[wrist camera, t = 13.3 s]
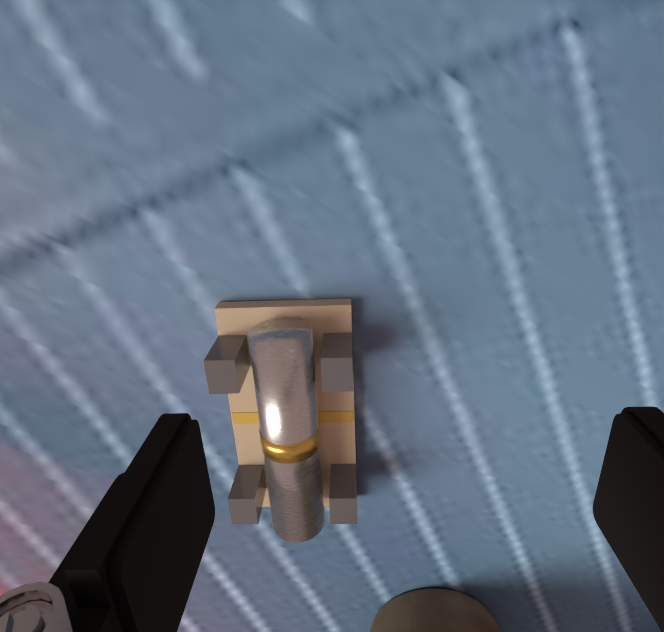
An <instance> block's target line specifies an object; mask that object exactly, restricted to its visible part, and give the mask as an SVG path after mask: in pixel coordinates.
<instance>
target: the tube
mask: <svg viewBox="0 0 664 632" xmlns="http://www.w3.org/2000/svg"><path fill="white" fill-rule="evenodd" d="M248 339H249V347H250V354H251V362H252V370H253V377H254V385H255V393H256V401H257V408H258V416H259V424H260V428H259V433H260V441H261V449H262V452H263V455H264V463H265V470H266V478H267V486H268V494H269V501H270V509H271V517H272V524H273V529H274V531H275V533H276V534H277V535H278V536H279V537H280V538H282V539H283V540H286V541H289V542H303V541H307V540H309V539H311V538H313V537H315V536H316V535H317V534H318V533H319V532H320V531H321V530H322V528H323V526H324V523H325V511H324V496H323V482H322V467H321V452H320V445H321V435H320V422H319V419H318V407H317V392H316V378H315V363H314V348H313V333H312V326H311V325H310V324H309V323H308V322H306V321H304V320H301V319H297V318H275V319H270V320H266V321H263V322H260V323H258V324H256V325H254V326H253V327H252V328H251V329H250V330H249V332H248Z"/></svg>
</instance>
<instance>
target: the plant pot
mask: <svg viewBox="0 0 664 632" xmlns="http://www.w3.org/2000/svg"><path fill="white" fill-rule="evenodd" d="M371 632H501V630H500V628H499V627H498V625H497V623H496V621H495V620H494V618H493V617H492V615H491V614H490V612H489V611H488V610H487V609H486V607H485V606H484V605H482V604H481V603H480V602H478V601H477V600H476V599H474V598H472V597H470V596H468V595H466V594H463V593H461V592H457V591H454V590H448V589H430V588H429V589H421V590H415V591H411V592H407V593H404V594H402V595H399V596H397V597H395V598H393V599H392V600H390V601H389V602H387V603H386V604H385V605H384V606H383V607H382V608H381V609H380V610H379V611H378V613H377V615H376V617H375V619H374V622H373V625H372V628H371Z"/></svg>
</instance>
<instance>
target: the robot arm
mask: <svg viewBox="0 0 664 632" xmlns="http://www.w3.org/2000/svg"><path fill="white" fill-rule="evenodd" d="M593 514H594V518H595V521H596V523H597V525H598V526H599V528H600V530H601V531H602V533H603V534H604V536H605V538H606V539H607V541H608V543H609V544H610V546H611V548H612V549H613V551H614V553H615V554H616V556H617V558H618V559H619V561H620V563H621V564H622V566H623V568H624V569H625V571H626V573H627V574H628V576H629V578H630V579H631V581H632V583H633V584H634V586H635V588H636V589H637V591H638V593H639V594H640V596H641V598H642V599H643V601H644V603H645V604H646V606H647V608H648V609H649V611H650V613H651V614H652V616H653V618H654V619H655V621H656V623H657V624H658V626H659V628H660V629H661V631H662V632H664V413H663V412H662V411H661V410H660V409H658V408H657V407H626V408H624V409H623V410H622V412H621V414H617V415H616V416H615V417H614V420H613V424H612V428H611V432H610V436H609V440H608V445H607V449H606V453H605V457H604V461H603V465H602V470H601V474H600V478H599V482H598V486H597V491H596V495H595V499H594V503H593ZM214 518H215V505H214V500H213V495H212V490H211V485H210V479H209V474H208V469H207V464H206V459H205V453H204V448H203V443H202V438H201V433H200V427H199V423H198V421H197V420H191V417H190V415H189V414H187V413H179V414H162V415H161V416H160V418H159V419H158V421H157V422H156V424H155V426H154V427H153V429H152V430H151V432H150V433H149V435H148V437H147V438H146V440H145V441H144V443H143V444H142V446H141V448H140V449H139V451H138V452H137V454H136V456H135V457H134V459H133V460H132V462H131V463H130V465H129V467H128V468H127V470H126V471H125V473H122V474H120V475H119V476H118V477H117V478H116V479H115V480H114V482H113V484H112V485H111V487H110V488H109V490H108V491H107V493H106V494H105V496H104V497H103V499H102V501H101V502H100V504H99V505H98V507H97V508H96V510H95V511H94V513H93V514H92V516H91V518H90V519H89V521H88V522H87V524H86V525H85V527H84V528H83V530H82V531H81V533H80V535H79V536H78V538H77V539H76V541H75V542H74V544H73V545H72V547H71V548H70V550H69V552H68V553H67V555H66V556H65V558H64V559H63V561H62V562H61V564H60V565H59V567H58V569H57V570H56V572H55V573H54V575H53V576H52V578H51V579H50V581H49V582H48V583H43V582H36V583H30V584H25V585H22V586H20V587H17V588H15V589H12V590H10V591H8V592H6V593H5V594H3V595H1V596H0V632H177V630H178V627H179V624H180V621H181V618H182V615H183V612H184V609H185V606H186V603H187V600H188V597H189V594H190V591H191V588H192V585H193V582H194V579H195V576H196V573H197V571H198V568H199V565H200V562H201V559H202V556H203V553H204V550H205V547H206V544H207V541H208V538H209V535H210V532H211V529H212V526H213V523H214Z"/></svg>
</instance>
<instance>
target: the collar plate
mask: <svg viewBox="0 0 664 632" xmlns="http://www.w3.org/2000/svg"><path fill="white" fill-rule="evenodd" d="M215 315H216V322H217V328H218V334H219V336H218V338H217V339H216V341H215V343H214V344H213V346H212V348H211V349H210V351H209V353H208V354H207V356H206V358H205V359H204V365H205V371H206V377H207V382H208V388H209V394H228V398H229V404H230V411H231V417H232V424H233V430H234V436H235V443H236V449H237V455H238V462H239V466H238V469H237V472H236V476H235V479H234V482H233V485H232V488H231V491H230V494H229V497H228V502H229V508H230V514H231V519H232V524H258V523H259V519H260V514H261V510H262V507H270V501H269V494H268V486H267V478H266V470H265V463H264V455H263V452H262V449H261V441H260V433H259V428H260V424H259V416H258V408H257V401H256V393H255V385H254V377H253V370H252V362H251V354H250V347H249V339H248V332H249V330H250V329H251V328H252V327H253V326H254V325H256V324H258V323H260V322H263V321H266V320H270V319H275V318H297V319H301V320H304V321H306V322H308V323H309V324H310V325H311V326H312V333H313V348H314V363H315V378H316V392H317V407H318V419H319V422H320V435H321V445H320V452H321V467H322V482H323V496H324V507H330V523H331V524H357V479H356V445H355V411H354V377H353V343H352V309H351V298H348V299H311V300H274V301H237V302H219V303H218V304H217V306H216V307H215Z"/></svg>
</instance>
